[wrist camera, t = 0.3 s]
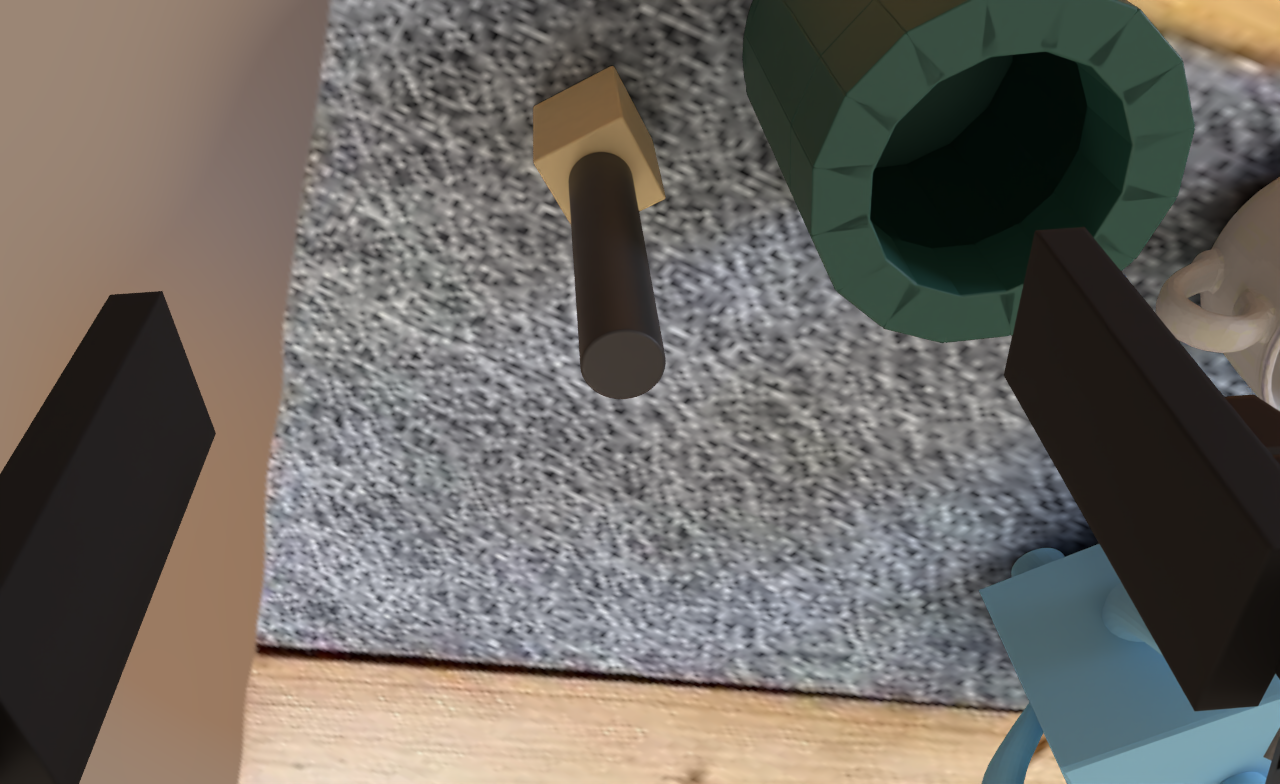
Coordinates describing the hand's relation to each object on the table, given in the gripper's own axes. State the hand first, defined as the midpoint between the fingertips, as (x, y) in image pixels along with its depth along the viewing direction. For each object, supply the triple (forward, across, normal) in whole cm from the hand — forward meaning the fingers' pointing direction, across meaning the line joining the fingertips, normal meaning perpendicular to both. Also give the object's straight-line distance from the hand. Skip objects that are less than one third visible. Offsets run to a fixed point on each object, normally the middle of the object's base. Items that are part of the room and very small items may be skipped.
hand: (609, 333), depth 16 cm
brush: (+24, 0, -7) cm, 25 cm away
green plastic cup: (+24, +11, -5) cm, 27 cm away
